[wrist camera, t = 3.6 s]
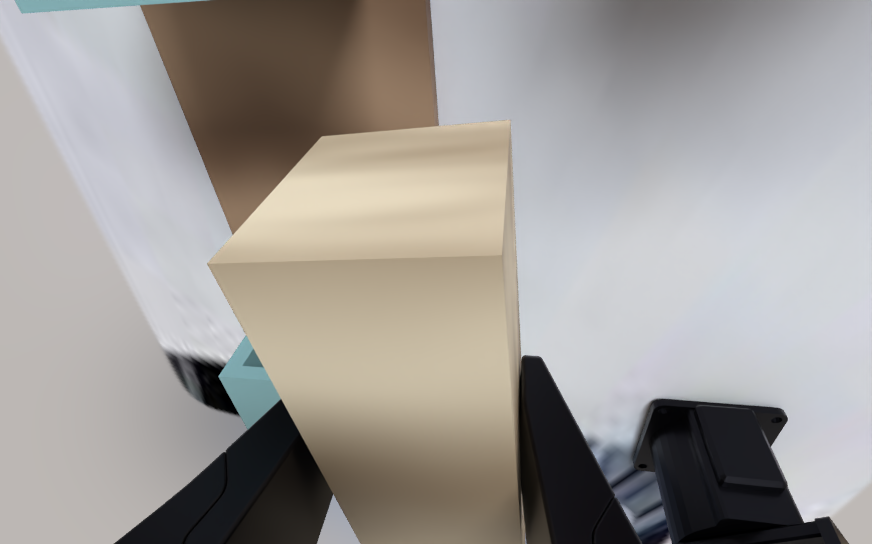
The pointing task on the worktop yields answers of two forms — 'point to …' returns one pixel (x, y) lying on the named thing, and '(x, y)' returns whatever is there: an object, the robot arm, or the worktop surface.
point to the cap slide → (248, 384)
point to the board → (291, 81)
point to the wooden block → (395, 326)
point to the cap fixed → (83, 4)
